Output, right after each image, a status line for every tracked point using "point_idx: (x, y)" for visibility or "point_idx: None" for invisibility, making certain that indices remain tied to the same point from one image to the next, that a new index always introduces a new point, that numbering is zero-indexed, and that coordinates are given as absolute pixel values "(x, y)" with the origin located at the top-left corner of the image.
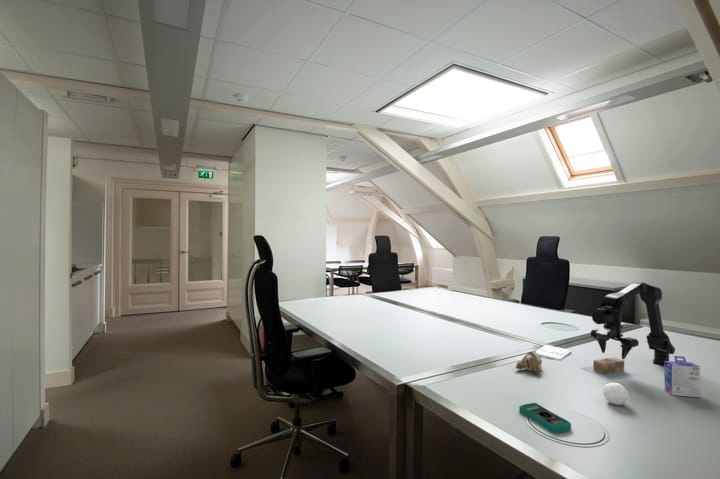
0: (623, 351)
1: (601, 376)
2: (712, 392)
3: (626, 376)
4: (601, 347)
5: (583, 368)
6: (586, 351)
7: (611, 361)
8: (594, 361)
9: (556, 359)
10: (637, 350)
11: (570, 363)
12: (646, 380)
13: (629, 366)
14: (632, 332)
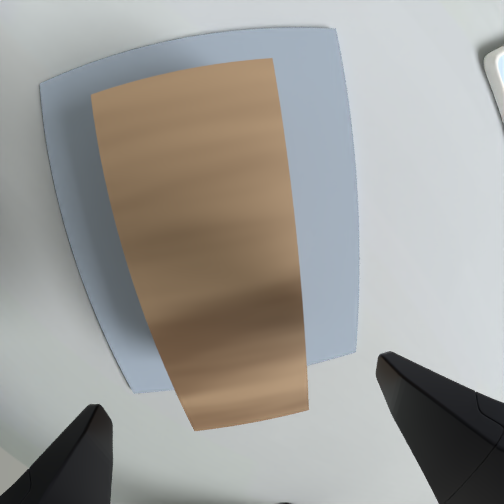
0: (24, 485)
1: (106, 57)
2: (7, 451)
3: (91, 295)
4: (437, 391)
5: (324, 50)
6: (494, 359)
7: (178, 298)
8: (254, 63)
9: (493, 51)
10: (391, 496)
11: (443, 78)
12: (55, 366)
13: (286, 438)
14: None
